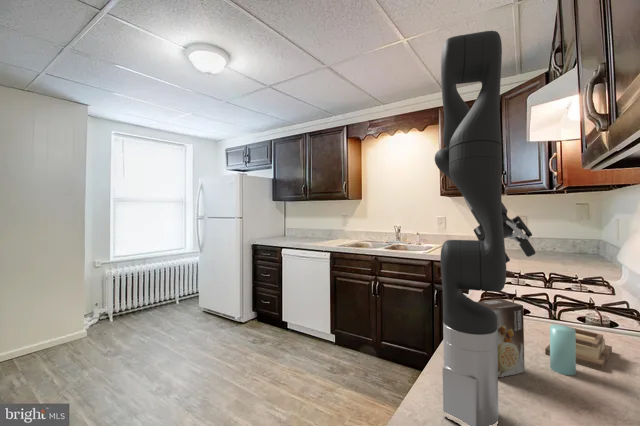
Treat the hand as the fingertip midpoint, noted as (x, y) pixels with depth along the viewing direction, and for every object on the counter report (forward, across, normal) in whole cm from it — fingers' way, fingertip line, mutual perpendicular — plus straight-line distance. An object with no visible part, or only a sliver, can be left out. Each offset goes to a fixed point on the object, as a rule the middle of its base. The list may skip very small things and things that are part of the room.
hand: (519, 258), depth 75 cm
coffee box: (+22, -10, +14) cm, 27 cm away
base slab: (+25, +16, +14) cm, 33 cm away
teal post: (+26, +4, +10) cm, 28 cm away
